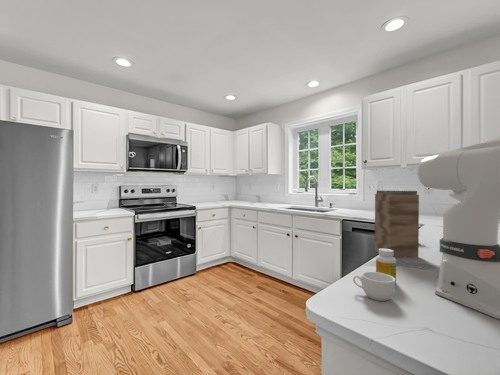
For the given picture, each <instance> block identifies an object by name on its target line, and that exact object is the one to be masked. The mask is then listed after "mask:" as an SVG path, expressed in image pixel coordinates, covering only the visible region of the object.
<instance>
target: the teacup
mask: <svg viewBox="0 0 500 375" xmlns="http://www.w3.org/2000/svg"><path fill="white" fill-rule="evenodd" d="M356 278H357V279H359V281H360V283H361V284H359V283H357V282H356ZM352 281H353V283H354V284H355V286H357V287H358V288H361V289H362V290H363V292H364V294H365V295H366V297H369V299H371V300H374V301H378V302H385V301H388V300H390V299H391V298H392V297H394V293H395V287H396V284H395V278H394V277H392V276H390V275H387V274H384V273H379V272H376V271H363V272H362V273H361V276H360V275H354V276H353V279H352Z"/></svg>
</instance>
